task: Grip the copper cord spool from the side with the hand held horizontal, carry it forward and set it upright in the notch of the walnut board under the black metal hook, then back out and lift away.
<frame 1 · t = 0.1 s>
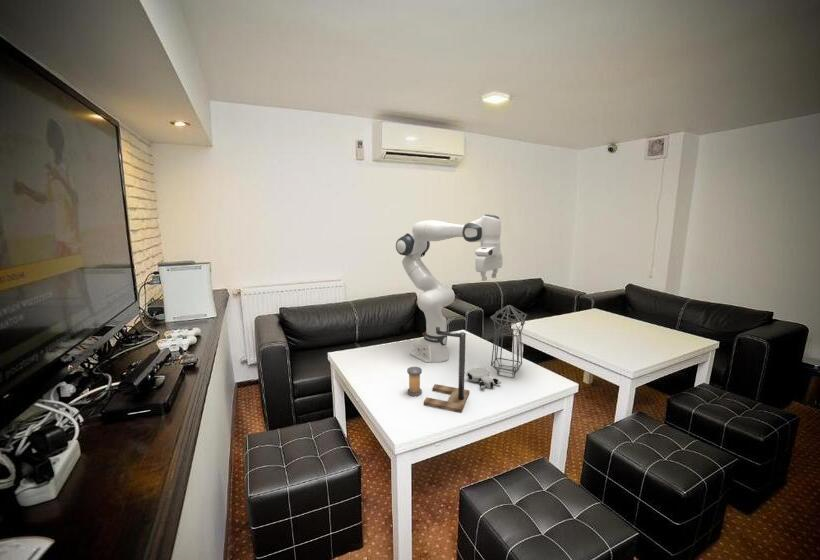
hand: (489, 279, 158), 48 cm above the table, tool pointing down, fingers open, 8 cm apart
geometric lantern: (506, 372, 168), on the table
hook stand: (450, 363, 140), on the notched board, point 17 cm above the table
cord spool: (414, 392, 149), on the table
notched board: (440, 397, 145), on the table
robot toy: (482, 383, 158), on the table
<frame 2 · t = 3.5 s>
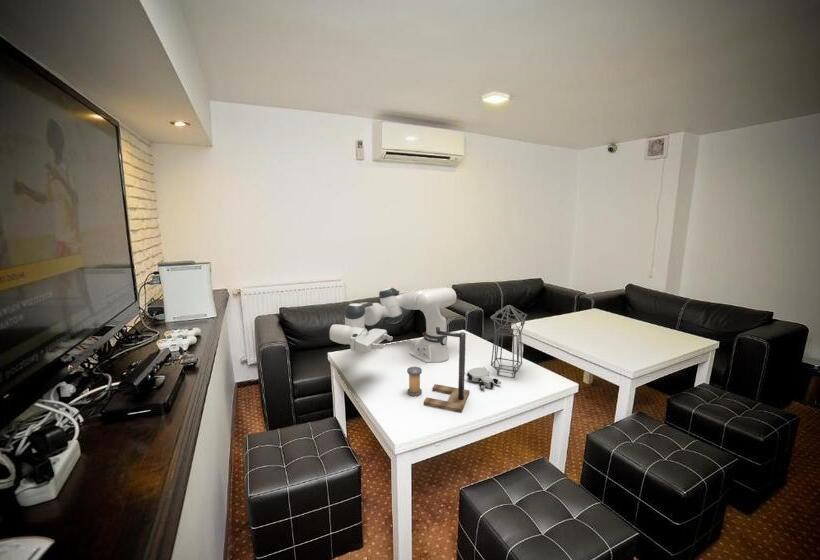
hand: (387, 342, 149), 22 cm above the table, tool horizontal, fingers open, 8 cm apart
nothing on the table moved.
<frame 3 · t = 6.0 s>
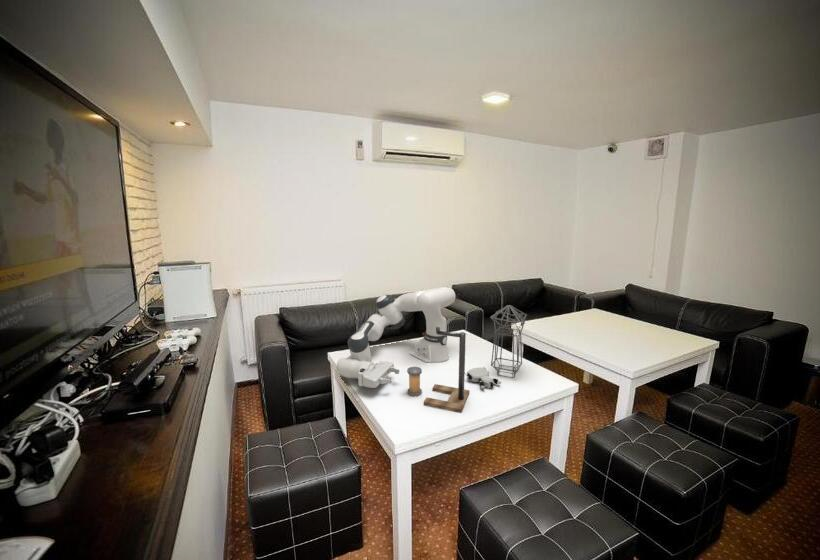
hand: (394, 376, 151), 6 cm above the table, tool horizontal, fingers open, 8 cm apart
nothing on the table moved.
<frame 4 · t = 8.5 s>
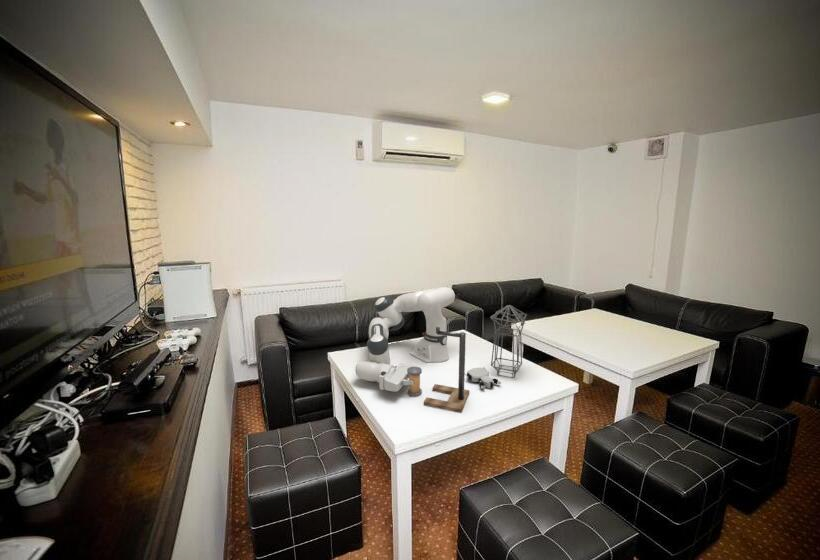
hand: (416, 379, 147), 7 cm above the table, tool horizontal, fingers closed on cord spool, 5 cm apart
cord spool: (414, 392, 149), on the table, touching gripper
everything else where it was.
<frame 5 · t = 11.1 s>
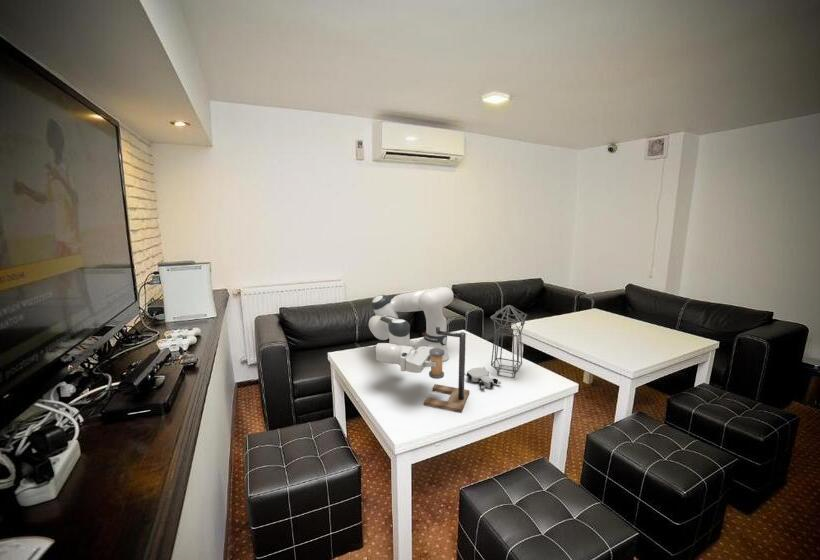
hand: (438, 361, 142), 17 cm above the table, tool horizontal, fingers closed on cord spool, 5 cm apart
cord spool: (436, 375, 143), point 10 cm above the table, touching gripper
everything else where it was.
when the fingers open (8 cm above the table, at t = 13.9 s): cord spool drops 1 cm, on the table.
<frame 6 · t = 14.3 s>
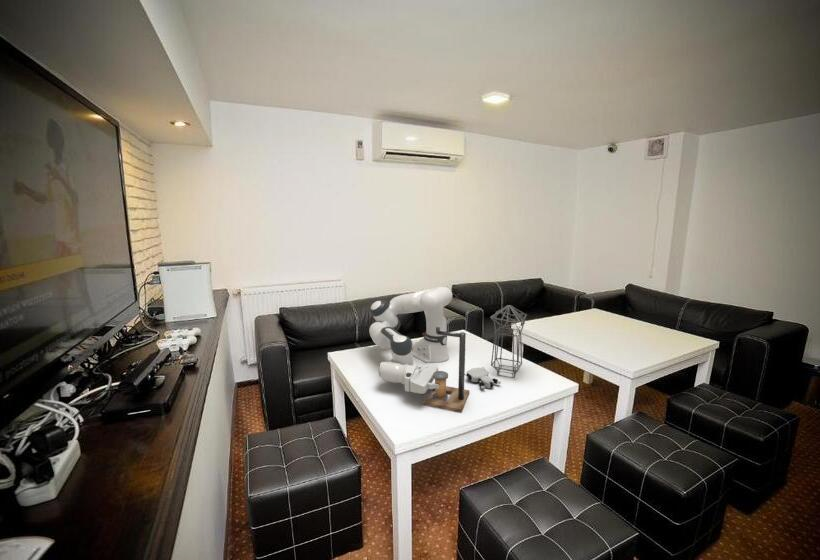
hand: (442, 381, 143), 8 cm above the table, tool horizontal, fingers open, 8 cm apart
cord spool: (440, 397, 145), on the table
everything else where it was.
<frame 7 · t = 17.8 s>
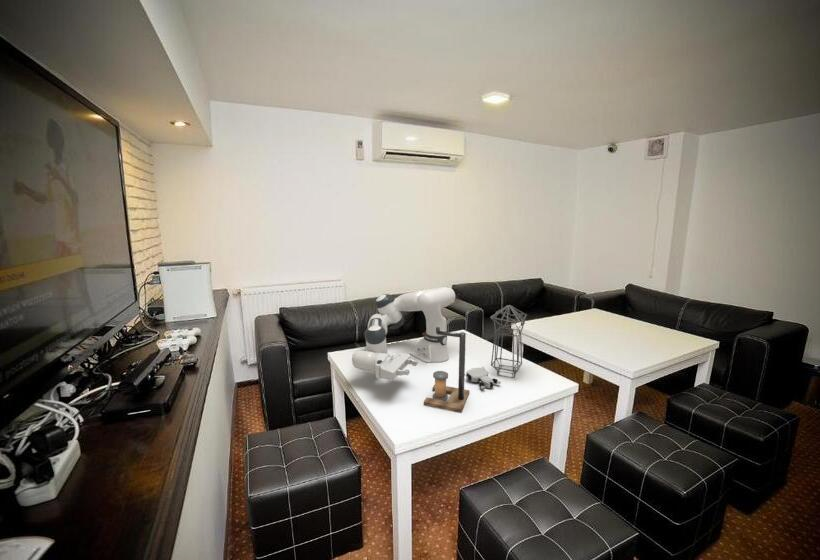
hand: (412, 368, 146), 12 cm above the table, tool horizontal, fingers open, 8 cm apart
nothing on the table moved.
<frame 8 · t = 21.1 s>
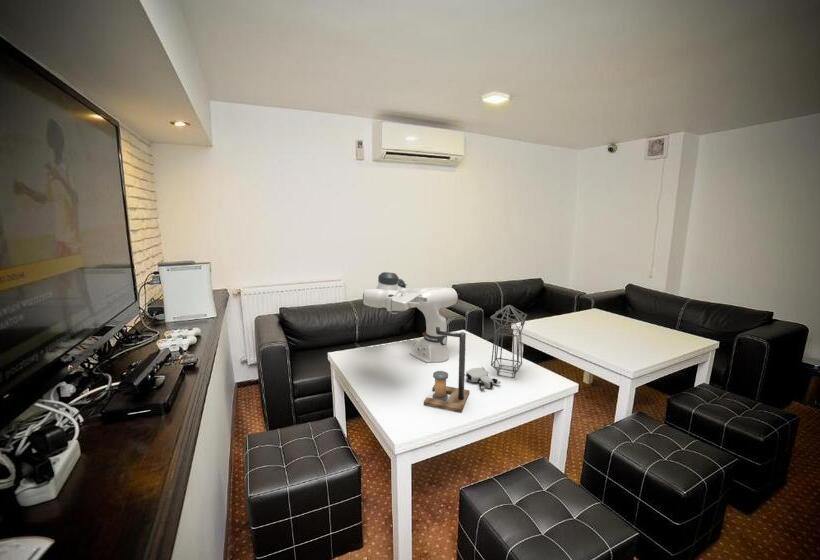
hand: (423, 302, 148), 40 cm above the table, tool horizontal, fingers open, 8 cm apart
nothing on the table moved.
at the end: cord spool 0.1 cm off-centre on the notched board, point 0.0 cm above the notched board's base; cord spool tilted 0°; the gripper is holding nothing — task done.
